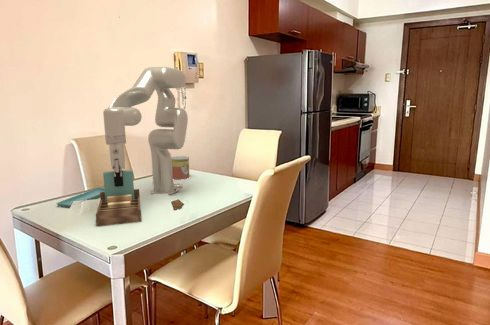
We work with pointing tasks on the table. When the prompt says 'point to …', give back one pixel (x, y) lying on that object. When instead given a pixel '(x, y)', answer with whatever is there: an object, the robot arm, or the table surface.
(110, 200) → the oak offcut
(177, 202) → the wooden fragment
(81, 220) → the table surface
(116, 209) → the rack
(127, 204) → the pine offcut
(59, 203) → the shallow long dish
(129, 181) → the tall sheet
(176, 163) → the canned food
